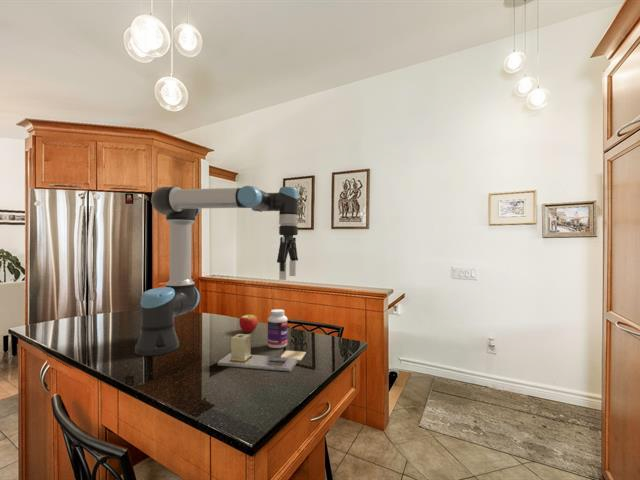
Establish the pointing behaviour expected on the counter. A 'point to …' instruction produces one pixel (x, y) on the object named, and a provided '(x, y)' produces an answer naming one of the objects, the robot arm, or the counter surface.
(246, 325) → the apple
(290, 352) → the coaster
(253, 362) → the rail
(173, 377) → the counter surface
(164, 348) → the robot arm
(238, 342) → the tan block with knob
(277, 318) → the pill bottle
